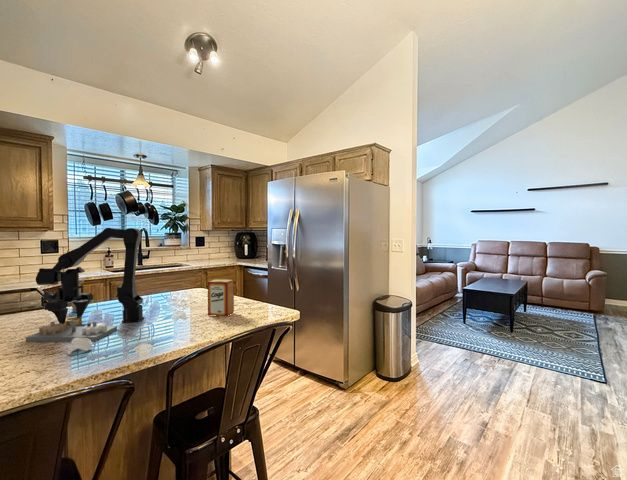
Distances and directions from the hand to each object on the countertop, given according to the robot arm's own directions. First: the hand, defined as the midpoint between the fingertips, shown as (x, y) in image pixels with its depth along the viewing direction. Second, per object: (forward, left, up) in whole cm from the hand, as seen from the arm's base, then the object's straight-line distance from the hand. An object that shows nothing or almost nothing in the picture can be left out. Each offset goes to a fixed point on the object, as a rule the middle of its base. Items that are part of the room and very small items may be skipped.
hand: (70, 321), depth 125 cm
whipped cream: (-24, +27, -2) cm, 36 cm away
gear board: (-11, +13, -1) cm, 17 cm away
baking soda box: (-57, -15, -1) cm, 59 cm away
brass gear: (0, 0, -1) cm, 1 cm away
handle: (+14, -22, -1) cm, 26 cm away
